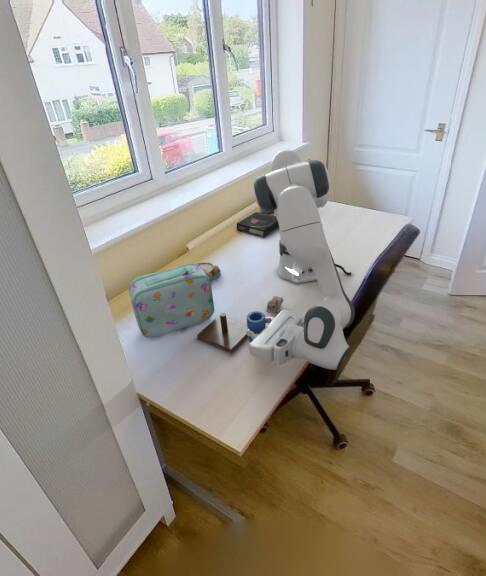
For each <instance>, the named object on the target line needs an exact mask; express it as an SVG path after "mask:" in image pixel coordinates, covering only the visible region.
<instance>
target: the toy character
mask: <svg viewBox="0 0 486 576" xmlns="http://www.w3.org/2000/svg"><path fill="white" fill-rule="evenodd" d="M283 302H284V298H283V297H282V296H277V295H273V296H272V298H271V299H270V300H269V301H268V302H267V305H266V310H265V311H266V312H267V313H268V314H273V312H274V313H277V314H279V311H280V310H281V307H282V305H283Z"/></svg>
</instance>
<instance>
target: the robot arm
mask: <svg viewBox="0 0 486 576" xmlns="http://www.w3.org/2000/svg"><path fill="white" fill-rule="evenodd" d="M330 185H331V176H330V173H329V170H328V169H327V167H326V166H325V164H324V162H322V161H320V160H317V159H310V158H307V160H305V161H304V160H303V159H302V158H301V156H300V155H299V154H298V153H297V152H296V151H294V150H292V149H282V150H279V151H277V152H276V153H275V154H274V155H273V157H272V159H271V161H270V172H268V173H263V174H261V175H259V176H257V177H256V178H255V179H254V182H253V187H252V194H253V198H254V200H255V203H256V204H257V205H258V207H259V209H260V208H261V209H263V210H265V211H271V212H272V213H271V214H273V216H275V217H276V218H277V220H278V223H279V228H278V229H279V242H278V252H279V262H278V267H277V270H276V273H277V275H278V276H279V277H280V278H282V279H284V280H287V281H290V282H291V283H293V284H303V283H308V282H309V283H310V282H313V281H317V283H318V286H319V289H320V290H319V291H320V293H321V297H322V298H321V302H319V303H317V304H315V305H314V306H312V307H310V308H309V309H308V310H307V311H306V312H305V315H304V316H301V315H300V314H298V313H296V312H295V311H292V310H289V309H286V308H285V309H282V310H280V312H278V313H277V315H276V316H275V317H274V316H265V324H267V325H265V326H266V327H265V328H264V329H263V331H262V332H261V333H260V334H256V335H255V334H254V330H253V329H250V328H249V329H248V330H247V331H246V333H247V335H248V336H250V337H252V339H253V341H252V342H251V343H250V342H249V344H248V348H249V349H248V351H249V354H250V356H252V357H253V358H255V359H258V360H260V361H264V362H269V363H272V362H273V364H274V365H275V366H282V365H284V364H286V363H287V362H288V361H290V360H292V359H294V358H296V359H300V360H304V361H305V360H306V361H307V362H308V363H310V364H311V365H315V366H317V367H319V368H323V369H326V370H330V371H331V370H332V371H337V370H339V369H340V368H341V367H342V366H344V364H345V362H346V361H347V359H348V357H349V355H350V350H351V347H350V345H349V344H348V343H347V340H346V338H345V335H344V329H346V328H349V327H350V326H351V325H352V323H353V322H354V320H355V317H356V311H355V306H354V304H353V303H352V301H351V299H350V298H349V297H348V295H347V294H346V292H345V289H344V287H343V284H342V281H341V278H340V275H339V271H338V269H337V268H339V269H340V270H342V272H343V273H344V275H347V276H349V275H350V276H351V275H352V272H348V271H347V270H345V268H344V267H343V266H342V265H340V264H337V263H335V259H334V257H333V254H332V252H331V250H330V247H329V244H328V242H327V238H326V235H325V231H324V227H323V223H322V219H321V216H320V212H319V209H320V208H324V207H325V206H326V204H327V203H328V202H329V198H330Z"/></svg>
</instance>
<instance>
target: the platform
mask: <svg viewBox="0 0 486 576" xmlns="http://www.w3.org/2000/svg"><path fill="white" fill-rule="evenodd" d="M247 330H248V328H247V324H245V323H244V324H243V323H241V322H238V321H236V320H233V319H232V318H228V317H227V313H225V312H220V314H219V315H218V316H217V317H216V318H214V320H212V321H211V322H210V323H209V324H207V326H205V327H204V328H203V329H202V330H201V331H200V332H198V333H197V334H196V337H197V340H198V341H200V342H202V343H205V344H207V345H210V346H212V347H214V348H217V349H218V350H221V351H224V352H226V353H228V354H231V355H232V354H233V353H235V352H236V351H237V349H239V347H240V346H241V345H243V343H244V342H245V341H246V340H247V339H249V338H248V335H247V333H246V331H247Z"/></svg>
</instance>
